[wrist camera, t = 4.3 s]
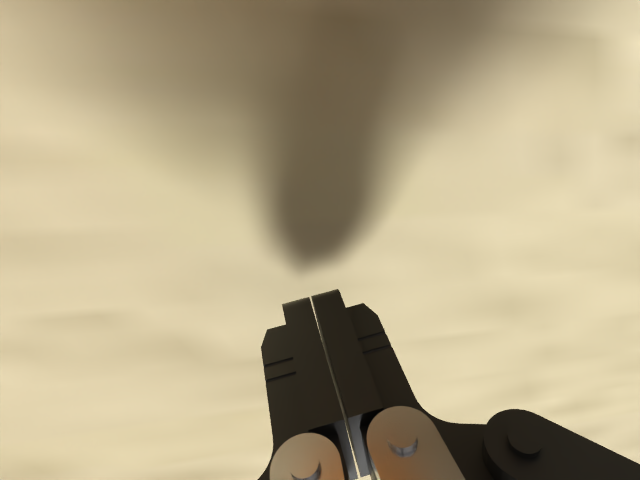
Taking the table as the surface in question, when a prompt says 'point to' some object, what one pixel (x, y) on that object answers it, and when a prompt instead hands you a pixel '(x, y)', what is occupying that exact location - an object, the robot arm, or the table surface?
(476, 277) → the table surface
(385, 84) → the table surface
